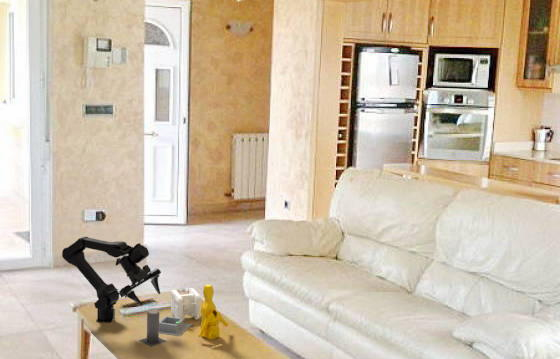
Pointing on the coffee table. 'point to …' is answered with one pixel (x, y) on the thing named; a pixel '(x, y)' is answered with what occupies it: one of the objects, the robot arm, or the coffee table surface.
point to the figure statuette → (210, 316)
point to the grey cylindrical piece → (153, 326)
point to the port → (173, 326)
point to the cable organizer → (185, 304)
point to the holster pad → (152, 343)
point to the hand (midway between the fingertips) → (150, 299)
